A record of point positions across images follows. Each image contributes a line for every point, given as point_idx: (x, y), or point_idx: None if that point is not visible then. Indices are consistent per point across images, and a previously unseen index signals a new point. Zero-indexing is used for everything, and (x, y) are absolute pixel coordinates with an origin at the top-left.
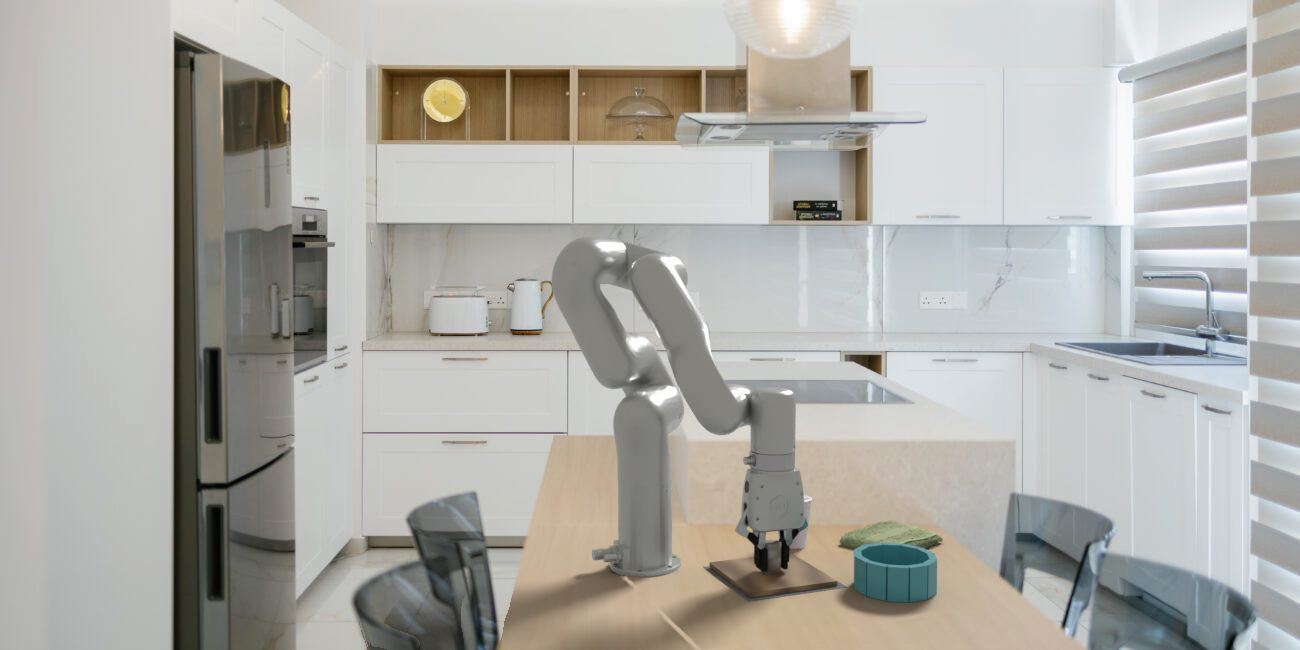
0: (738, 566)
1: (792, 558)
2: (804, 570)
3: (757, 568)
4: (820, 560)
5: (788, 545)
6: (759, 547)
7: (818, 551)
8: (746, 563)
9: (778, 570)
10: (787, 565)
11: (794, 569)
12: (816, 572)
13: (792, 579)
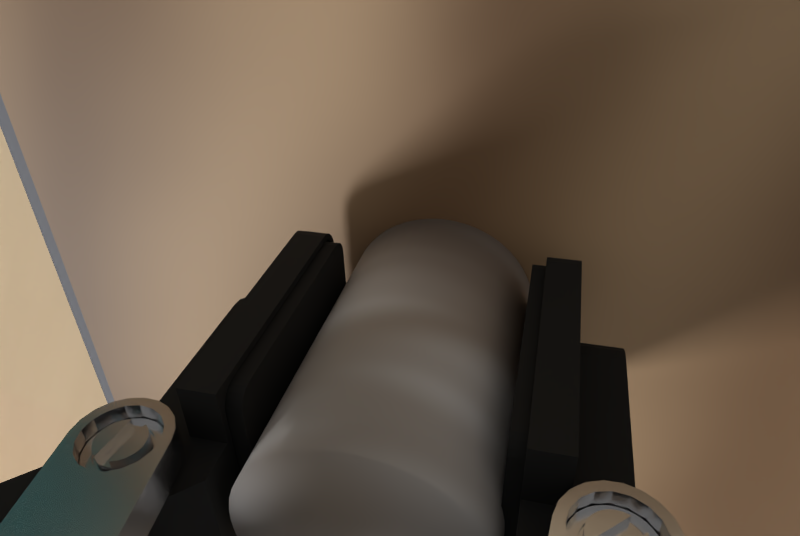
0: None
1: None
2: (149, 194)
3: None
4: (10, 381)
5: (159, 406)
6: (659, 516)
7: (2, 474)
8: None
9: (405, 236)
10: (290, 244)
11: (225, 250)
12: (56, 105)
13: (350, 10)
